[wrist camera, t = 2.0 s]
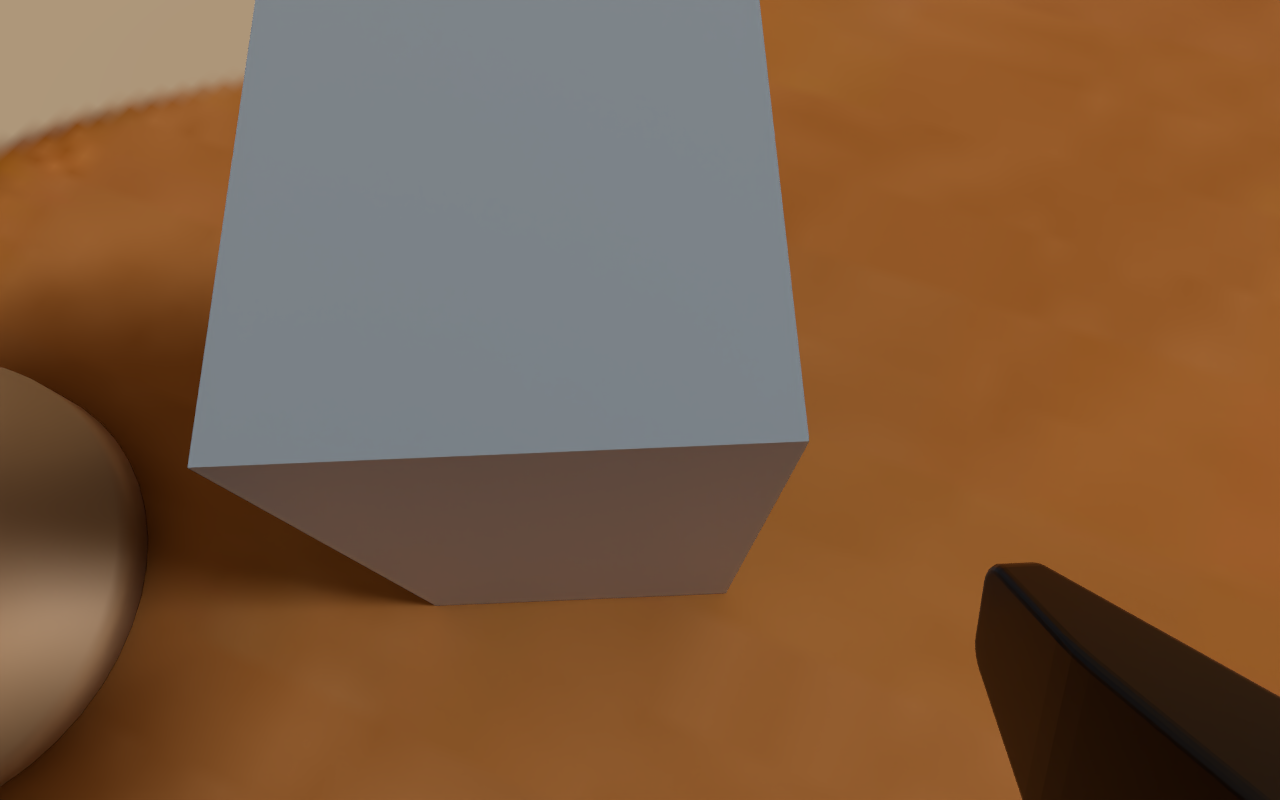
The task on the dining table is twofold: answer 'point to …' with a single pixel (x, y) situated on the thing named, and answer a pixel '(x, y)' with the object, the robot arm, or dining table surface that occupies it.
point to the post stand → (60, 564)
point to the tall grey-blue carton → (507, 294)
